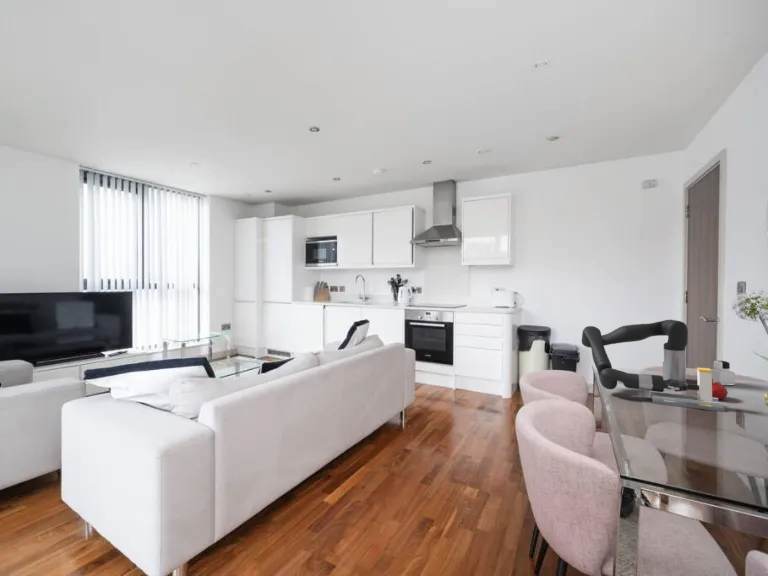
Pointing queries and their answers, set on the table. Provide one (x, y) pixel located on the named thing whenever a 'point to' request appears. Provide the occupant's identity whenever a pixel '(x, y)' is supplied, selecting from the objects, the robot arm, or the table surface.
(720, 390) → the red round fruit
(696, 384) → the robot arm
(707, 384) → the switch tab
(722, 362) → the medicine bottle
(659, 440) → the table surface
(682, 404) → the switch plate
